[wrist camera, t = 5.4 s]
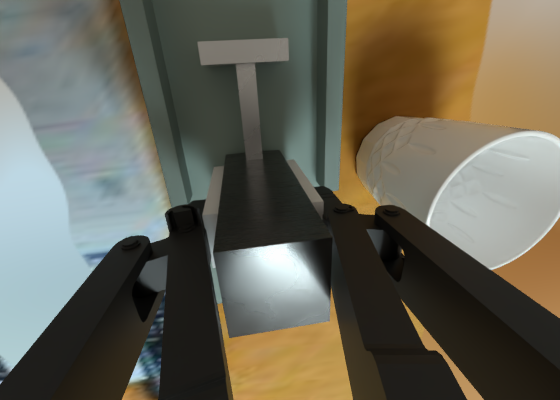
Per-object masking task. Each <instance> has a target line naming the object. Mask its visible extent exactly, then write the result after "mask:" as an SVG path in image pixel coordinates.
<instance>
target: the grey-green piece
mask: <svg viewBox="0 0 560 400" xmlns="http://www.w3.org/2000/svg"><path fill="white" fill-rule="evenodd" d="M119 1H120V5H121V9H122V13H123V17H124V21H125V25H126V29H127V32H128V36H129V40H130V44H131V48H132V52H133V56H134V60H135V64H136V68H137V72H138V76H139V80H140V84H141V88H142V92H143V96H144V100H145V104H146V108H147V112H148V116H149V120H150V124H151V127H152V131H153V135H154V139H155V143H156V147H157V151H158V155H159V159H160V163H161V167H162V171H163V175H164V179H165V183H166V187H167V191H168V195H169V199H170V203H171V207H172V208H173V207H175V206H179V205H185V204H189V203H190V202H191V201H194V200H204V199H206V197H207V193H208V189H209V185H210V181H211V177H212V173H213V169H214V167H218V166H224V163H225V156H226V154H236V153H245V144H244V135H243V126H242V117H241V108H240V99H239V89H238V80H237V71H236V66H217V67H205V66H202V65H201V62H200V56H199V49H198V43H197V42H201V41H225V40H249V39H273V38H288V46H289V61H286V62H283V63H274V64H255V70H256V83H257V95H258V107H259V119H260V131H261V143H262V151H269V150H280V151H281V153H282V155H283V156H284V158H285V160H292V159H294V160H295V162H296V163H297V164H298V166H299V167H300V169H301V170H302V171H303V173H304V174H305V176H306V177H307V178H308V180H309V181H310V183H311V184H312V186H313V187H318V186H325V187H327V188H329V189H330V190H331V191H336V190H339V170H340V148H341V126H342V104H343V81H344V59H345V37H346V15H347V0H119ZM210 267H211V271H212V277H213V283H214V289H215V294H216V300H217V304H219V303H222V298H221V293H220V287H219V282H218V277H217V272H216V268H213V267H212V262H211V264H210Z"/></svg>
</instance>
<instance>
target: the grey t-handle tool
mask: <svg viewBox="0 0 560 400" xmlns="http://www.w3.org/2000/svg"><path fill="white" fill-rule="evenodd" d="M197 43H198V49H199V56H200V62H201V65H202V66H205V67H217V66H236V71H237V80H238V89H239V99H240V108H241V117H242V126H243V135H244V144H245V153H236V154H226V156H225V163H224V171H223V179H222V186H221V194H220V202H219V209H218V217H217V225H216V232H215V240H214V248H213V257H214V262H215V267H216V272H217V277H218V282H219V287H220V293H221V298H222V303H223V308H224V313H225V318H226V323H227V328H228V334H229V338H232V337H238V336H244V335H250V334H256V333H262V332H268V331H274V330H280V329H286V328H292V327H298V326H304V325H310V324H316V323H321V322H327V321H330V295H331V269H332V243H333V237H332V235H331V234H330V232H329V230H328V229H327V227H326V225H325V224H324V222H323V221H322V219H321V217H320V216H319V214H318V212H317V211H316V209H315V207H314V206H313V204H312V202H311V201H310V199H309V197H308V196H307V194H306V193H305V191H304V189H303V188H302V186H301V184H300V183H299V181H298V179H297V178H296V176H295V174H294V173H293V171H292V169H291V168H290V166H289V165H288V163H287V161H286V160H285V158H284V156H283V155H282V153H281V151H280V150H269V151H262V143H261V131H260V119H259V107H258V95H257V83H256V70H255V64H274V63H283V62H286V61H289V46H288V38H273V39H249V40H225V41H201V42H197Z"/></svg>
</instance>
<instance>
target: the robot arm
mask: <svg viewBox="0 0 560 400" xmlns="http://www.w3.org/2000/svg"><path fill="white" fill-rule="evenodd" d="M286 161H287V163H288V165H289V166H290V168H291V169H292V171H293V173H294V174H295V176H296V178H297V179H298V181H299V183H300V184H301V186H302V188H303V189H304V191H305V193H306V194H307V196H308V197H309V199H310V201H311V202H312V204H313V206H314V207H315V209H316V211H317V212H318V214H319V216H320V217H321V219H322V221H323V222H324V224H325V225H326V227H327V229H328V230H329V232H330V234H331V235H332V237H333V243H332V269H331V288H332V293H333V298H334V303H335V309H336V314H337V319H338V324H339V329H340V334H341V339H342V344H343V350H344V355H345V360H346V365H347V370H348V375H349V380H350V385H351V390H352V396H353V400H467V399H466V397H465V395H464V393H463V391H462V390H461V388H460V386H459V384H458V382H457V380H456V378H455V377H454V375H453V373H452V371H451V369H450V367H449V366H448V364H447V362H446V361H445V359H444V358H443V356H442V355H441V354H440V353H438V352H437V351H428V350H427V349H426V348H425V346H424V345H423V343H422V341H421V339H420V337H419V335H418V333H417V331H416V329H415V327H414V325H413V323H412V321H411V319H410V317H409V315H408V313H407V311H406V309H405V307H404V305H403V303H402V301H403V302H404V303H405V304H406V306H407V307H408V308H409V309H410V310H411V312H412V313H413V314H414V315H415V316H416V318H417V319H418V320H419V321H420V322H421V324H422V325H423V326H424V327H425V329H426V330H427V331H428V332H429V333H430V335H431V336H432V337H433V338H434V339H435V341H436V342H437V343H438V344H439V345H440V347H441V348H442V349H443V350H444V351H445V353H446V354H447V355H448V356H449V358H450V359H451V360H452V361H453V362H454V364H455V365H456V366H457V367H458V368H459V370H460V371H461V372H462V373H463V374H464V376H465V377H466V378H467V379H468V381H469V382H470V383H471V384H472V385H473V387H474V388H475V389H476V390H477V391H478V393H479V394H480V395H481V396H482V398H483V399H484V400H560V318H558V317H557V316H555V315H554V314H552V313H551V312H550V311H548V310H547V309H545V308H544V307H542V306H541V305H540V304H538V303H537V302H535V301H534V300H533V299H531V298H530V297H528V296H527V295H525V294H524V293H522V292H521V291H520V290H518V289H517V288H516V287H514V286H513V285H511V284H510V283H508V282H507V281H505V280H504V279H503V278H501V277H500V276H499V275H497V274H496V273H494V272H493V271H491V270H490V269H489V268H487V267H486V266H484V265H483V264H481V263H480V262H479V261H477V260H476V259H474V258H473V257H472V256H470V255H469V254H467V253H466V252H464V251H463V250H462V249H460V248H459V247H457V246H456V245H454V244H453V243H452V242H450V241H449V240H447V239H446V238H445V237H443V236H442V235H440V234H439V233H437V232H436V231H435V230H433V229H432V228H430V227H429V226H428V225H426V224H425V223H423V222H422V221H420V220H419V219H418V218H416V217H415V216H413V215H412V214H410V213H409V212H408V211H406V210H405V209H403V208H401V207H398V206H395V205H382V206H379V207H377V208H376V210H375V215H364V214H358V212H357V210H356V208H355V207H353V206H351V205H348V204H342V203H341V201H340V200H339V199H338V198H337V197H336V196H335V194H333V192H332V191H331V190H330V189H329V188H327V187H325V186H318V187H313V186H312V184H311V183H310V181H309V180H308V178H307V177H306V176H305V174H304V173H303V171H302V170H301V169H300V167H299V166H298V164H297V163H296V162H295V160H294V159H292V160H286ZM223 171H224V166H218V167H214V169H213V173H212V177H211V181H210V185H209V189H208V193H207V197H206V199H204V200H194V201H191V202H190V203H189V204H185V205H179V206H175V207H173V208H171V209H169V210H168V211H166V213H165V217H166V221H167V225H168V229H169V237H168V238H166V239H163V240H160V241H157V242H153V243H150V240H149V238H148V237H146V236H131V237H128V238H125V239H123V240H121V241H120V242H118V243H117V244H115V245H114V246H113V247H112V249H111V250H110V251H109V252H108V254H107V255H106V256H105V257H104V258H103V260H102V261H101V262H100V263H99V265H98V266H97V267H96V268H95V269H94V271H93V272H92V273H91V274H90V275H89V277H88V278H87V279H86V280H85V282H84V283H83V284H82V285H81V287H80V288H79V289H78V290H77V292H76V293H75V294H74V295H73V296H72V298H71V299H70V300H69V301H68V302H67V304H66V305H65V306H64V307H63V308H62V310H61V311H60V312H59V313H58V315H57V316H56V317H55V318H54V320H53V321H52V322H51V323H50V324H49V326H48V327H47V328H46V329H45V331H44V332H43V333H42V334H41V335H40V337H39V338H38V339H37V340H36V342H35V343H34V344H33V345H32V346H31V348H30V349H29V350H28V351H27V352H26V354H25V355H24V356H23V357H22V359H21V360H20V361H19V362H18V364H17V365H16V366H15V367H14V368H13V369H12V371H11V372H10V373H9V374H8V376H7V377H6V378H5V379H4V380H3V382H2V383H1V384H0V400H122V397H123V395H124V393H125V390H126V388H127V385H128V383H129V380H130V378H131V375H132V373H133V370H134V368H135V365H136V363H137V360H138V358H139V355H140V353H141V351H142V348H143V346H144V343H145V341H146V338H147V336H148V333H149V331H150V328H151V326H152V323H153V321H154V318H155V316H156V314H157V311H158V309H159V306H160V304H161V301H162V299H163V296H164V293H165V289H166V294H165V309H164V325H163V341H162V357H161V372H160V388H159V398H158V400H233V394H232V388H231V382H230V376H229V371H228V365H227V359H226V353H225V347H224V341H223V335H222V330H221V324H220V318H219V312H218V306H217V300H216V294H215V289H214V283H213V277H212V271H211V267H210V264H211V262H212V267H213V268H216V267H215V262H214V257H213V248H214V240H215V232H216V225H217V217H218V209H219V202H220V194H221V186H222V179H223ZM402 249H403V251H404V255H405V256H404V255H403V254H402V253H401V251H402ZM400 298H401V299H402V301H401V299H400Z"/></svg>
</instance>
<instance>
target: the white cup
mask: <svg viewBox="0 0 560 400" xmlns="http://www.w3.org/2000/svg"><path fill="white" fill-rule="evenodd" d="M356 166H357V175H358V177H359V179H360V180H361V182H362V184H363V185H364V187H365V188H366V189H367V190H368V191H369V192H370V193H371V194H372V195H373V197H374V198H375V199H376V201H377V202H378V203H379V204H380V205H381V206H382V205H395V206H398V207H401V208H403V209H405V210H406V211H408V212H409V213H410V214H412V215H413V216H415V217H416V218H418V219H419V220H420V221H422V222H423V223H425V224H426V225H428V226H429V227H430V228H432V229H433V230H435V231H436V232H437V233H439V234H440V235H442V236H443V237H445V238H446V239H447V240H449V241H450V242H452V243H453V244H454V245H456V246H457V247H459V248H460V249H462V250H463V251H464V252H466V253H467V254H469V255H470V256H472V257H473V258H474V259H476V260H477V261H479V262H480V263H481V264H483V265H484V266H486V267H487V268H489V269H490V270H492V269H495V268H498V267H500V266H503V265H505V264H507V263H509V262H511V261H513V260H515V259H516V258H518V257H519V256H521V255H522V254H524V253H525V252H527V251H528V250H529V249H531V248H532V247H533V246H534V245H535V244H537V243H538V242H539V241H540V240H541V239H542V238H543V237H544V236H545V235H546V233H548V231H549V230H550V229H551V228H552V227H553V225H554V224H555V223H556V221H557V220H558V218H559V217H560V139H559V138H558V137H556V136H554V135H552V134H550V133H547V132H543V131H536V130H528V129H520V128H512V127H505V126H497V125H490V124H482V123H475V122H468V121H457V120H449V119H438V118H429V117H426V118H418V117H406V116H395V117H392V118H390V119H388V120H386V121H383V122H381V123H379V124H377V125H376V126H375V127H374V128H373V129H372V130H371V132H370V133H369V134H368V135H367V136H366V137H365V138H364V139H363V141H362V144H361V146H360V149H359V151H358V154H357V156H356Z"/></svg>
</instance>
